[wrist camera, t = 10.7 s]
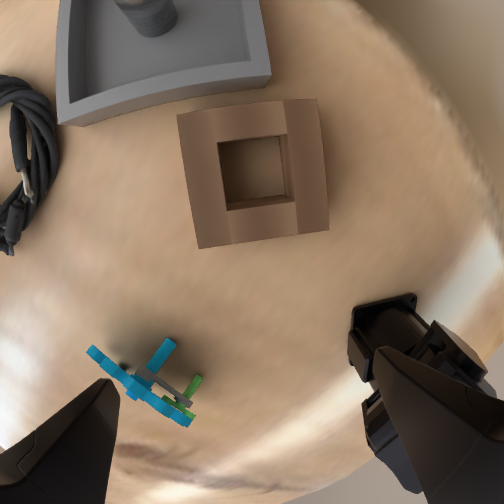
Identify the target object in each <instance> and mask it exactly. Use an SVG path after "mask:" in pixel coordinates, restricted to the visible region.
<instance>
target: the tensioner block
mask: <svg viewBox="0 0 504 504" xmlns="http://www.w3.org/2000/svg"><path fill="white" fill-rule="evenodd" d="M177 122H178V130H179V137H180V144H181V150H182V157H183V163H184V170H185V176H186V182H187V188H188V194H189V199H190V205H191V211H192V216H193V222H194V227H195V232H196V238H197V243H198V248H199V249H204V248H211V247H217V246H224V245H230V244H237V243H244V242H250V241H257V240H264V239H271V238H277V237H284V236H291V235H298V234H305V233H312V232H319V231H326V230H329V213H328V198H327V186H326V174H325V164H324V154H323V145H322V136H321V128H320V120H319V113H318V106H317V99H297V100H281V101H269V102H258V103H249V104H240V105H232V106H225V107H218V108H212V109H206V110H200V111H194V112H189V113H184V114H179V115H177ZM269 137H279V144H280V152H281V160H282V168H283V177H284V185H285V194H286V195H278V196H270V197H263V198H256V199H249V200H242V201H235V202H228V203H227V199H226V193H225V186H224V179H223V173H222V166H221V159H220V152H219V145H218V144H223V143H230V142H237V141H244V140H252V139H260V138H269Z"/></svg>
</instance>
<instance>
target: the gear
mask: <svg viewBox="0 0 504 504" xmlns="http://www.w3.org/2000/svg"><path fill="white" fill-rule="evenodd" d="M176 346H177V345H176V344H175V343H174V342H173V341H171V340H170V339H168V338H166V340H165V341H164V342H163V343H162V345H161V346H160V347H159V349H158V350H157V351H156V353H155V354H154V355H153V357H152V358H151V359H150V361H149V362H148V363H147V365H146V366H143V365H141V366H140V368H139V369H138V370H137V372H136V373H135V374H134V376H133V375H132V374H131V375H129V374H127V373H126V372H125V371H124V370H122V369H121V368H120V367H119V366H117V365H116V364H115V363H114V362H113V361H111V360H110V359H109V358H108V357H107V356H105V355H104V354H103V353H102V352H101V351H100V350H98V349H97V348H96V347H95V346H94V345H91V347H90V348H89V349H88V350H87V352H86V353H87V354H88V355H89V356H90V357H91V358H92V359H93V360H94V361H96V362H97V363H98V364H100V365H99V366H100V367H101V368H102V369H103V370H105V371H106V372H107V373H108V374H109V375H110V376H112V377H113V378H116V379H117V380H119V381H120V382H121V383H122V384H123V386H124V387H125V388H126V389H127V392H126V394H127V395H128V396H129V397H130V398H132V399H133V400H135V401H136V400H137V399H138V398H139V399H141V400H142V401H145V402H147V403H148V404H149V405H151V406H152V407H153V408H154V409H155V410H157V411H158V412H160V413H161V414H163V415H164V416H166V417H168V418H171V419H172V420H174V421H175V422H177V423H178V424H180V425H181V426H183V427H184V426H185V427H187V428H188V426H189V425H190V423H191V422H192V421H193V419H194V418H195V416H196V415H194V414H193V413H191V412H189V411H188V410H186V409H185V408H186V407H187V408H190V407H191V405H192V404H193V402H192V401H190V400H189V399H190V398H191V396H192V395H193V393H194V392H195V390H196V389H197V388H198V386H199V385H200V383H201V382H202V380H203V378H201V377H200V376H198V375H196V376H195V377H194V379H193V380H192V382H191V383H190V385H189V386H188V387H187V389H186V390H185V392H184V393H183V395H182V394H181V393H179V392H178V391H177V390H175V389H174V388H172V387H171V386H170V385H168V384H167V383H166V382H164V381H163V380H162V379H161V378H159V377H158V376H157V375H155V374H156V373H157V371H158V370H159V369H160V367H161V366H162V365H163V363H164V362H165V361H166V359H167V358H168V356H169V355H170V354H171V352H172V351H173V350H174V348H175V347H176ZM154 382H157V383H158V384H159V385H161V386H162V387H163V388H165V389H166V390H167V391H169V392H170V393H172V394H173V395H174V396H175V397H174V399H175V400H176V402H174V401H173V400H171V399H170V398H168V397H167V396H166V395H164V396H163V397H162V398H160V397H158V396H157V395H155V394H154V393H152V392H151V391H152V389H151V386H152V385H153V383H154ZM171 405H172V406H174V407H175V408H177V409H178V410H180V411H181V412H183V413H181V412H180V411H178V410H177V409H175V408H174V407H172V406H171Z"/></svg>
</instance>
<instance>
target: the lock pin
mask: <svg viewBox="0 0 504 504" xmlns="http://www.w3.org/2000/svg"><path fill="white" fill-rule="evenodd" d="M113 1H114V2H115V4H116V5H117V6H118V7H119V9H120V10H121V11H122V13H123V14H124V15H125V16H126V18H127V19H128V20H129V22H130V23H131V24H132V26H133V27H134V28H135V29H136V31H137V32H138V33H139V34H140V35H142V36H144V37H149V38H153V37H158V36H161V35H164V34H166V33H167V32H169V31H170V30H171V29H172V28H173V27H174V25H175V24H176V22H177V18H178V15H177V11H176V8H175V5H174V2H173V0H113Z"/></svg>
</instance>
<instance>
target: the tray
mask: <svg viewBox="0 0 504 504" xmlns="http://www.w3.org/2000/svg"><path fill="white" fill-rule="evenodd" d="M173 2H174V5H175V8H176V11H177V15H178V18H177V22H176V24H175V25H174V27H173V28H172V29H171V30H170V31H169V32H167V33H166V34H164V35H161V36H158V37H153V38H149V37H144V36H142V35H140V34H139V33H138V32H137V31H136V29H135V28H134V27H133V26H132V24H131V23H130V22H129V20H128V19H127V18H126V16H125V15H124V14H123V13H122V11H121V10H120V9H119V7H118V6H117V5H116V4H115V2H114V1H113V0H60V4H59V12H58V22H57V35H56V60H55V79H56V104H57V118H58V124H60V125H70V126H79V127H84V126H87V125H90V124H93V123H96V122H99V121H102V120H105V119H108V118H111V117H115V116H118V115H121V114H125V113H128V112H132V111H136V110H139V109H143V108H147V107H151V106H155V105H160V104H164V103H168V102H173V101H178V100H183V99H188V98H193V97H199V96H205V95H211V94H217V93H224V92H232V91H240V90H249V89H259V88H265V86H266V84H267V82H268V81H269V79H270V77H271V75H272V73H271V67H270V60H269V54H268V48H267V42H266V37H265V31H264V25H263V20H262V15H261V9H260V4H259V0H173Z"/></svg>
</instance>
